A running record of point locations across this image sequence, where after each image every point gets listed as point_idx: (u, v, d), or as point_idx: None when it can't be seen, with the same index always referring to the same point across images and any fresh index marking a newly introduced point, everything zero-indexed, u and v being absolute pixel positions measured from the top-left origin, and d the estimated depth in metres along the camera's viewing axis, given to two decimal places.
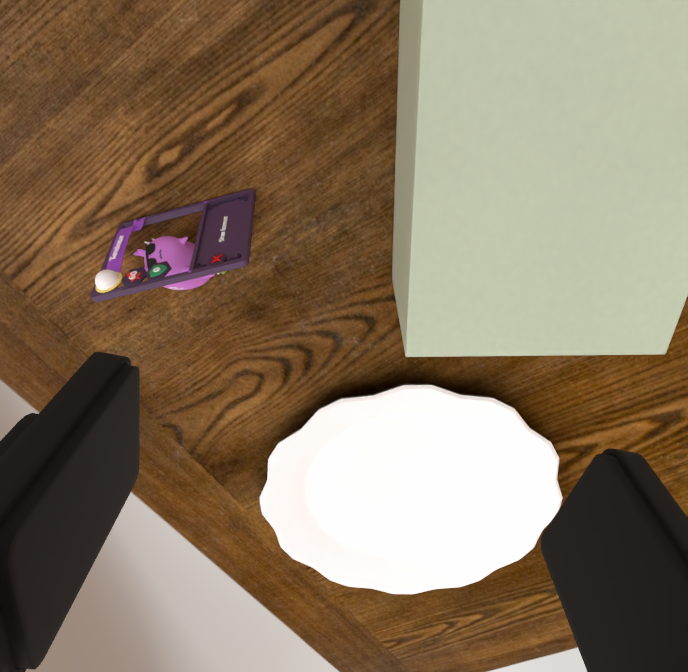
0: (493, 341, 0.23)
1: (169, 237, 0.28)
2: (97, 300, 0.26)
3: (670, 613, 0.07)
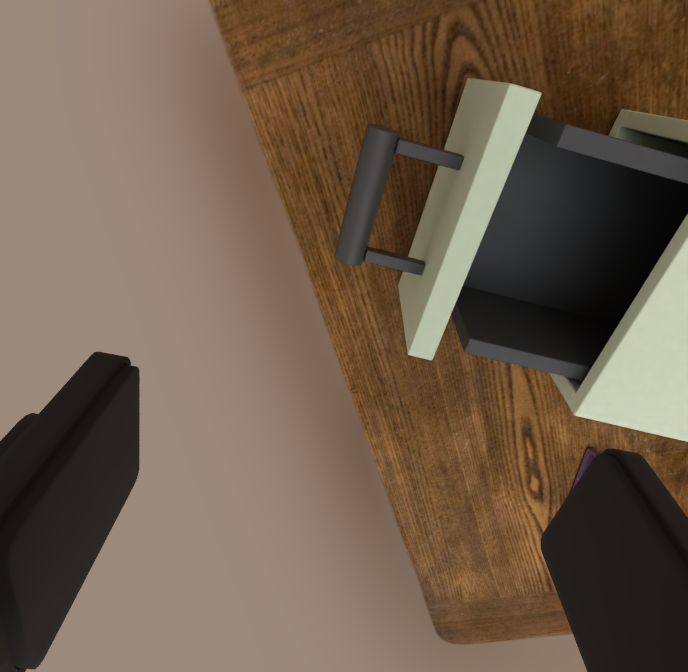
0: None
1: None
2: None
3: (670, 613, 0.07)
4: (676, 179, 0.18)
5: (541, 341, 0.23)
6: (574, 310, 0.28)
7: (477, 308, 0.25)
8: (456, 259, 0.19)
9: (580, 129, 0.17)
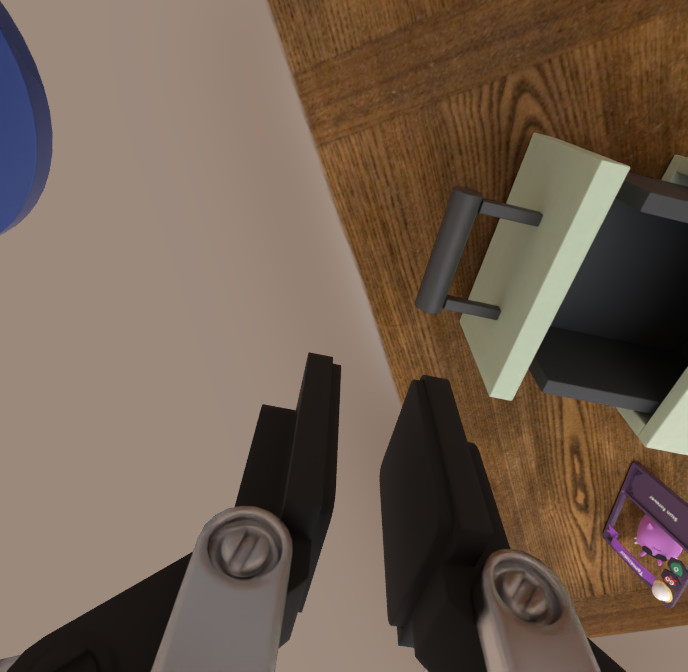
0: None
1: (642, 532, 0.37)
2: (672, 604, 0.36)
3: (422, 502, 0.08)
4: None
5: (609, 377, 0.25)
6: (628, 339, 0.29)
7: (544, 345, 0.26)
8: (541, 312, 0.21)
9: (663, 196, 0.18)
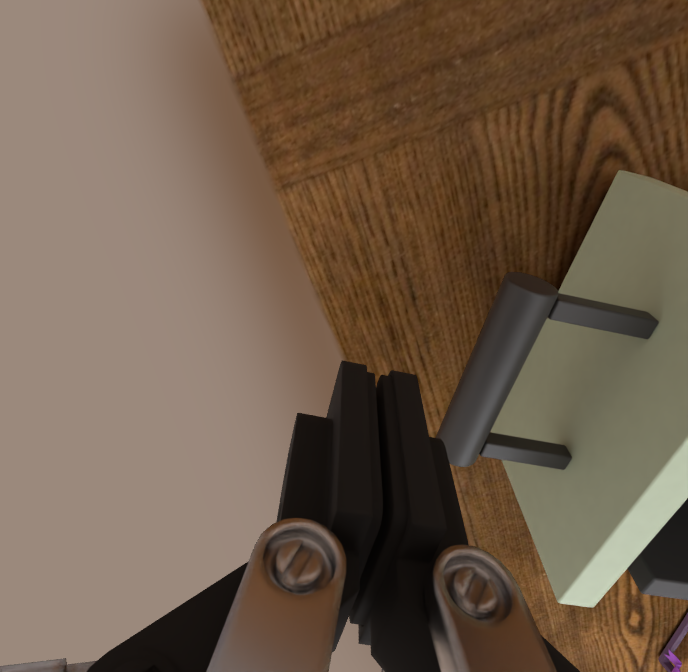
0: None
1: None
2: None
3: None
4: None
5: None
6: None
7: None
8: (662, 496, 0.12)
9: None
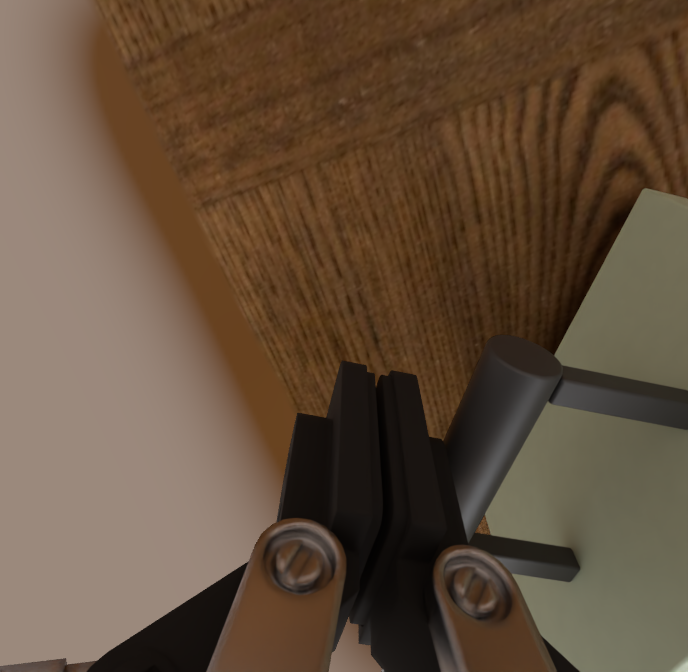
0: None
1: None
2: None
3: None
4: None
5: None
6: None
7: None
8: None
9: None
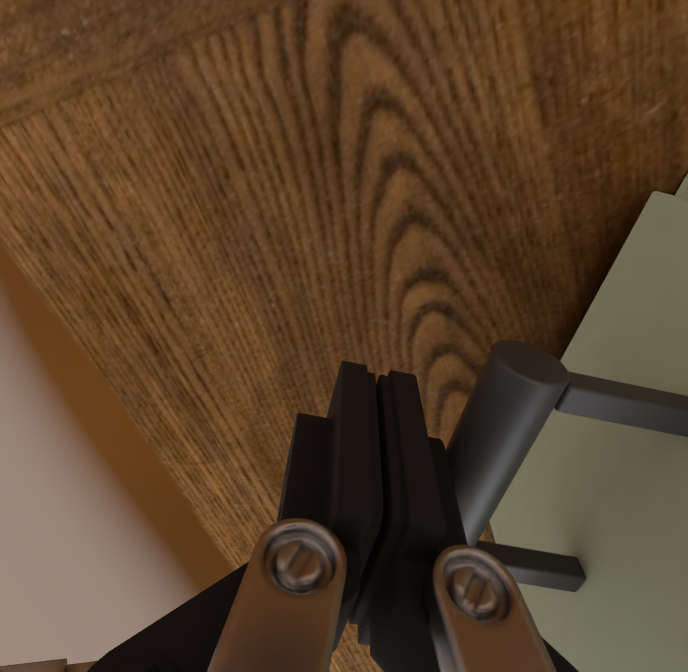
0: None
1: None
2: None
3: None
4: None
5: None
6: None
7: None
8: None
9: None
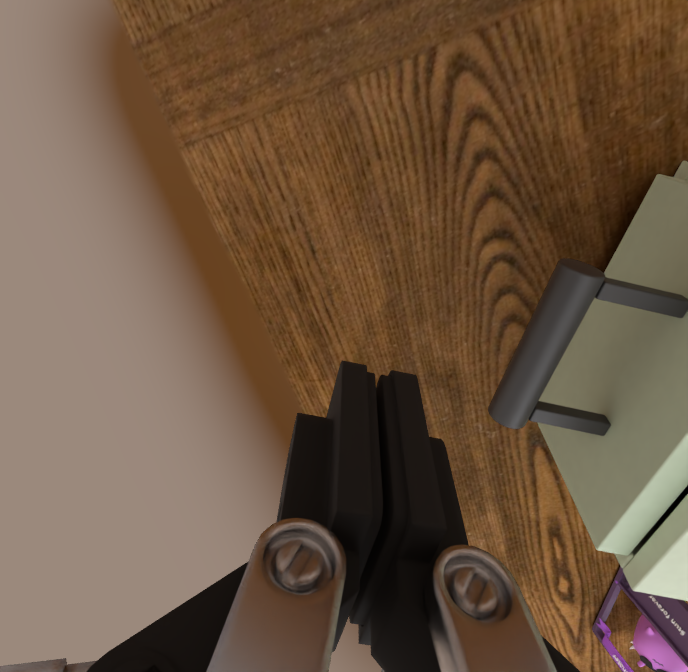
0: None
1: (641, 638, 0.29)
2: None
3: None
4: None
5: None
6: None
7: None
8: None
9: None
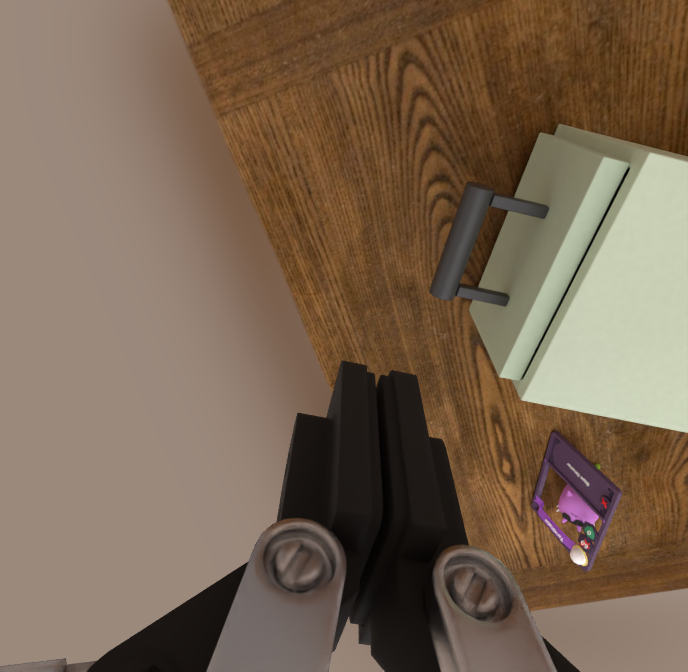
0: None
1: (563, 499, 0.38)
2: (589, 568, 0.37)
3: None
4: None
5: None
6: None
7: None
8: (547, 297, 0.23)
9: None
